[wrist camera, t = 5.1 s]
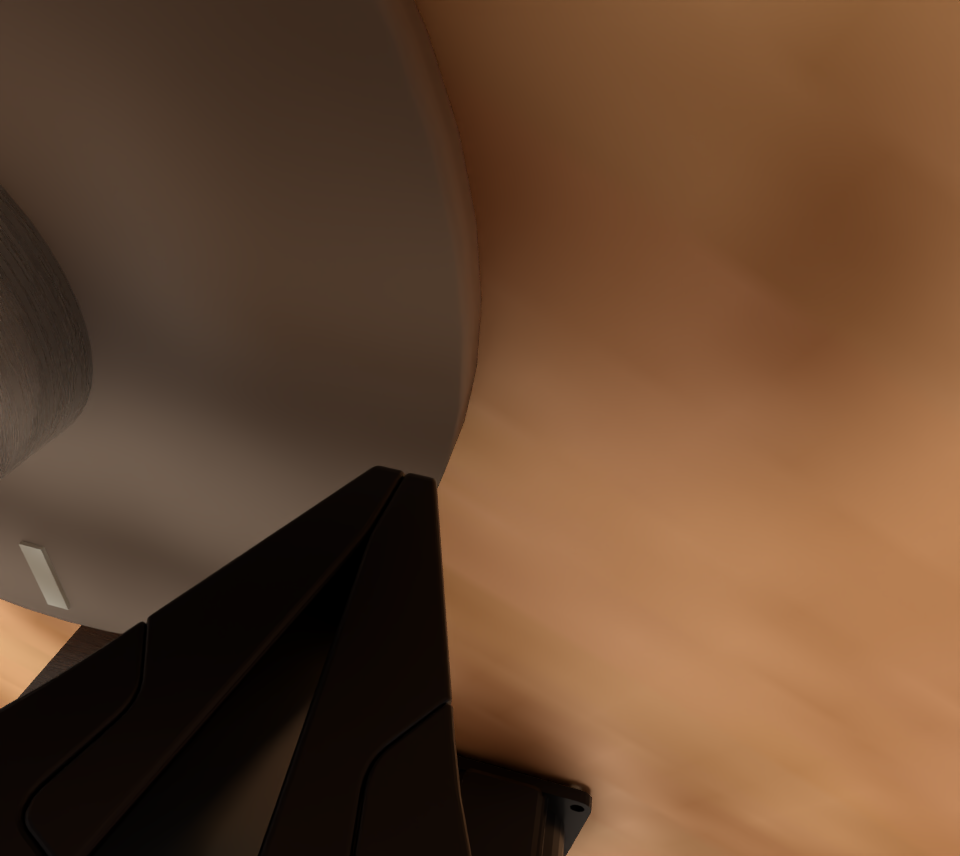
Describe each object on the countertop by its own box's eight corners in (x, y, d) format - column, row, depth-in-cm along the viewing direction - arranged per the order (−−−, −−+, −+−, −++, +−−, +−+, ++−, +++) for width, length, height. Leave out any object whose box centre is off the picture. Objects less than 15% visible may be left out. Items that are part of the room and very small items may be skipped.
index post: (175, 620, 21) (38, 806, 16) (132, 608, 21) (-16, 790, 16) (166, 591, 20) (19, 780, 15) (121, 578, 20) (-39, 763, 15)
